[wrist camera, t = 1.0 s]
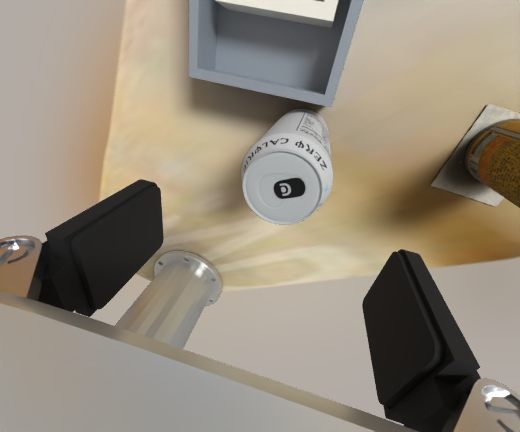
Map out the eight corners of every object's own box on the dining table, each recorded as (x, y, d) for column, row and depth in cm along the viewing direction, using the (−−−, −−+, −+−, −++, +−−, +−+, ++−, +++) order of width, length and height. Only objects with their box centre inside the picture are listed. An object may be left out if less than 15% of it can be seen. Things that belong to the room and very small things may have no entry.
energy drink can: (268, 115, 27) (219, 152, 14) (324, 100, 25) (325, 126, 12) (280, 167, 29) (248, 237, 17) (332, 157, 27) (340, 227, 15)
